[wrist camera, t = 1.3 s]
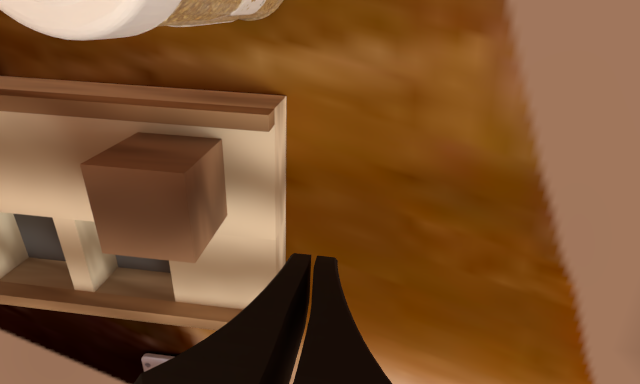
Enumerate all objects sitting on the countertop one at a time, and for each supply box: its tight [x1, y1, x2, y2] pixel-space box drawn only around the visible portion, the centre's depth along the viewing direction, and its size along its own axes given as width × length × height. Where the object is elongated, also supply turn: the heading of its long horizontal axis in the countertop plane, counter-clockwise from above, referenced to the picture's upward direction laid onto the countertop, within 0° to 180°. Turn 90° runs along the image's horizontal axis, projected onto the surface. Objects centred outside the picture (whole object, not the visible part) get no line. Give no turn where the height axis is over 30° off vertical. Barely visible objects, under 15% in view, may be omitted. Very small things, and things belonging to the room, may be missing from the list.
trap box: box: [0, 76, 286, 330], centre depth 23 cm, size 14×26×4 cm, turn 87°
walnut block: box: [80, 132, 228, 263], centre depth 19 cm, size 4×4×4 cm
